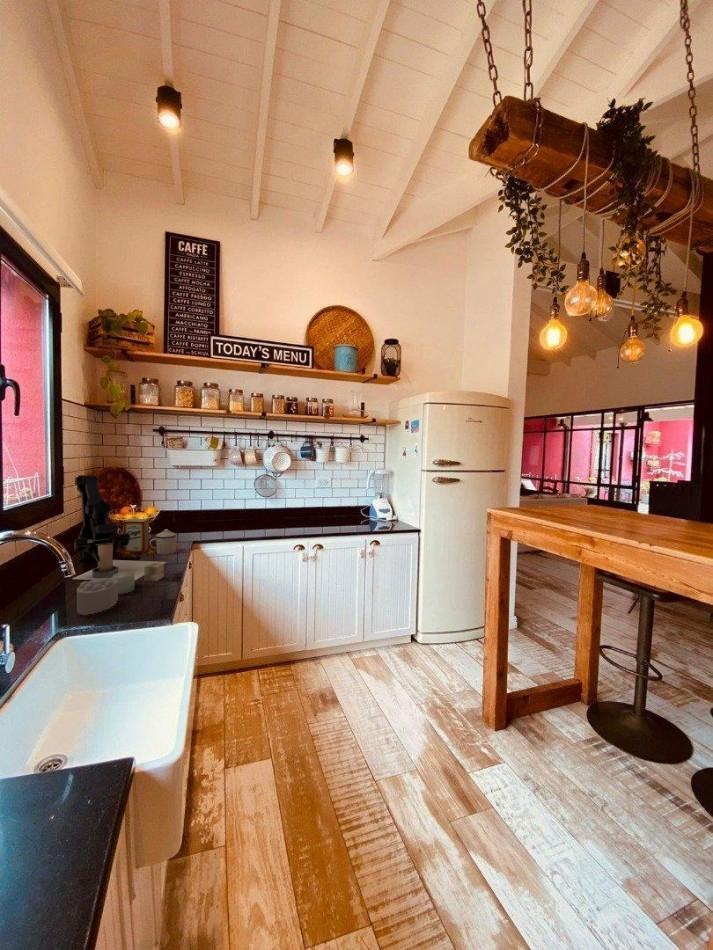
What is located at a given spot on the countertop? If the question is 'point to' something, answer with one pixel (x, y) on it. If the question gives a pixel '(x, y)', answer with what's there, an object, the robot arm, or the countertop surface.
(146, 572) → the birch block
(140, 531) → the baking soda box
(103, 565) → the pink cylinder
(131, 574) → the sage jar
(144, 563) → the board
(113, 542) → the robot arm
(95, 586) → the lumpy-topped squat cylinder
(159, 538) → the teacup with lid
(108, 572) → the metal collar
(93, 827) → the countertop surface
